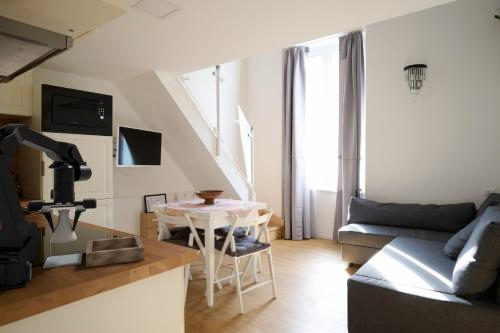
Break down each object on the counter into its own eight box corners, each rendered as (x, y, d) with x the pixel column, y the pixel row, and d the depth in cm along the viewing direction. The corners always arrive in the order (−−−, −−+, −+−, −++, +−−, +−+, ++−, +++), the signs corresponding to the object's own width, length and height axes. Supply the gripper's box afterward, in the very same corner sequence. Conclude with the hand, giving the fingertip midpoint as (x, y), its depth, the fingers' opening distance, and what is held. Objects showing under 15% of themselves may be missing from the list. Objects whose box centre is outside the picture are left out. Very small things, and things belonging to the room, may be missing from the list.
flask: (65, 244, 96) (65, 212, 96) (44, 243, 97) (44, 211, 97) (81, 239, 103) (81, 208, 103) (62, 238, 104) (62, 208, 104)
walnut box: (86, 266, 95) (86, 253, 95) (87, 251, 111) (87, 240, 111) (144, 259, 103) (144, 247, 103) (138, 246, 118) (138, 235, 118)
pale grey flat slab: (43, 268, 93) (43, 266, 93) (47, 258, 102) (47, 256, 102) (81, 263, 98) (81, 262, 98) (82, 255, 107) (82, 253, 107)
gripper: (96, 180, 111) (96, 224, 111) (33, 181, 103) (33, 229, 103) (96, 182, 101) (96, 231, 101) (26, 184, 93) (26, 236, 93)
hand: (63, 231), depth 100 cm, fingers closed on flask, 5 cm apart
